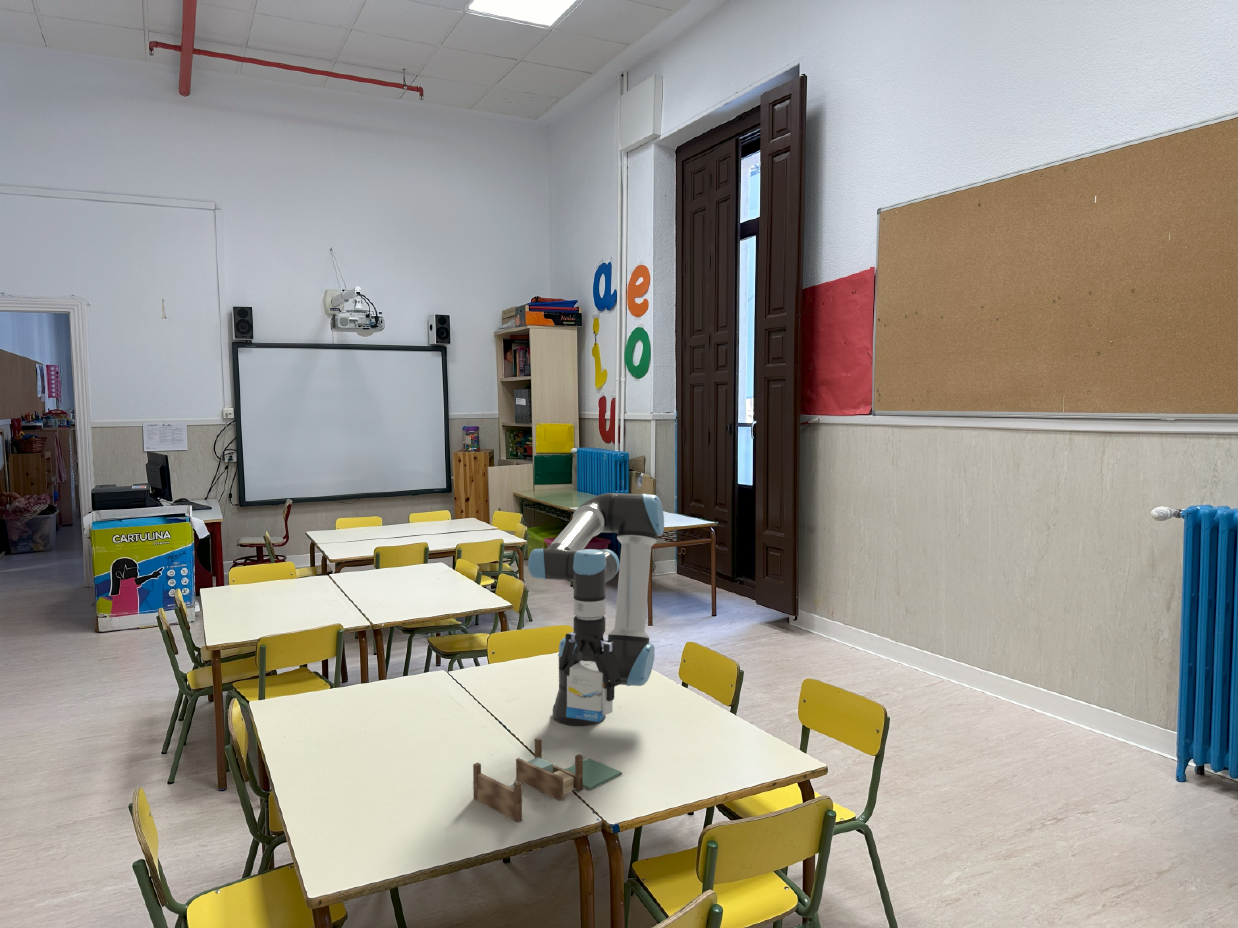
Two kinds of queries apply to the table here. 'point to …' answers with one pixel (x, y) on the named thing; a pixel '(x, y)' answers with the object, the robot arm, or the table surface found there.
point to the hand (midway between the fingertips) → (589, 707)
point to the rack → (529, 774)
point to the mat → (595, 773)
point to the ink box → (585, 692)
